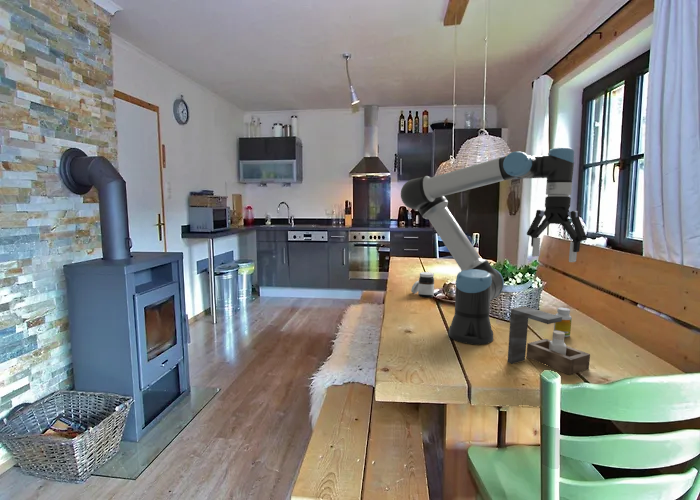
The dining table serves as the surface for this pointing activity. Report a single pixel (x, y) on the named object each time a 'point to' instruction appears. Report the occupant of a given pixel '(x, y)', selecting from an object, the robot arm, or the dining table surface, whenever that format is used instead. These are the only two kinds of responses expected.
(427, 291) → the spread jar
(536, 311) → the brown and grey frame
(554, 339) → the pepper shaker
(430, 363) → the dining table surface
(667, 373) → the dining table surface
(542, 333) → the dining table surface
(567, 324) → the supplement bottle
